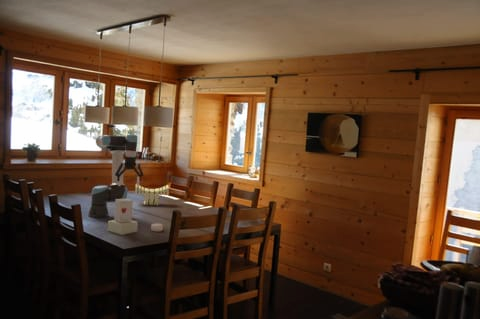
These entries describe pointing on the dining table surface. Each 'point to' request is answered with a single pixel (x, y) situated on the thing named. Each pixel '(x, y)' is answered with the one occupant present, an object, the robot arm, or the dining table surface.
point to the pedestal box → (122, 227)
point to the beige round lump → (156, 227)
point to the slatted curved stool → (152, 194)
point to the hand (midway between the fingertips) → (128, 185)
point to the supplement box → (123, 210)
